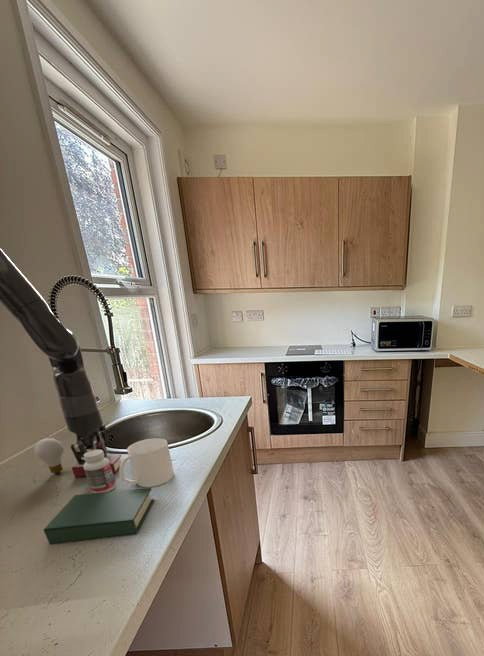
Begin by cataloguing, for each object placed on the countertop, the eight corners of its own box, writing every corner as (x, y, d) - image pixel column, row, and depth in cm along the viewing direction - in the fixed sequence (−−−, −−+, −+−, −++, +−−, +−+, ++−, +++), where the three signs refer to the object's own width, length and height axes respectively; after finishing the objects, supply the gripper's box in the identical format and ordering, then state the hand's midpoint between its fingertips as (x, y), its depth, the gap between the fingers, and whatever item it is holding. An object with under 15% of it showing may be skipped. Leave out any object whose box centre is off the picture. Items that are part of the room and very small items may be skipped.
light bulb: (41, 480, 90) (27, 445, 86) (47, 470, 95) (34, 437, 91) (68, 475, 92) (56, 441, 88) (72, 466, 97) (61, 433, 93)
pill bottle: (115, 491, 84) (104, 455, 80) (89, 496, 82) (77, 460, 78) (117, 480, 89) (107, 446, 85) (93, 486, 87) (81, 450, 83)
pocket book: (75, 477, 91) (71, 467, 90) (84, 467, 96) (81, 458, 95) (115, 474, 92) (112, 464, 91) (123, 464, 97) (120, 454, 96)
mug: (168, 466, 95) (161, 435, 92) (179, 479, 89) (171, 446, 85) (120, 481, 89) (110, 448, 85) (127, 496, 82) (117, 461, 78)
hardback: (49, 544, 67) (43, 529, 66) (79, 508, 78) (74, 495, 77) (137, 534, 69) (133, 519, 68) (154, 500, 80) (151, 487, 79)
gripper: (78, 402, 93) (96, 458, 100) (48, 421, 80) (71, 484, 87) (108, 400, 94) (124, 456, 101) (83, 419, 81) (103, 481, 88)
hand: (99, 469), depth 94 cm, fingers closed on pocket book, 5 cm apart
